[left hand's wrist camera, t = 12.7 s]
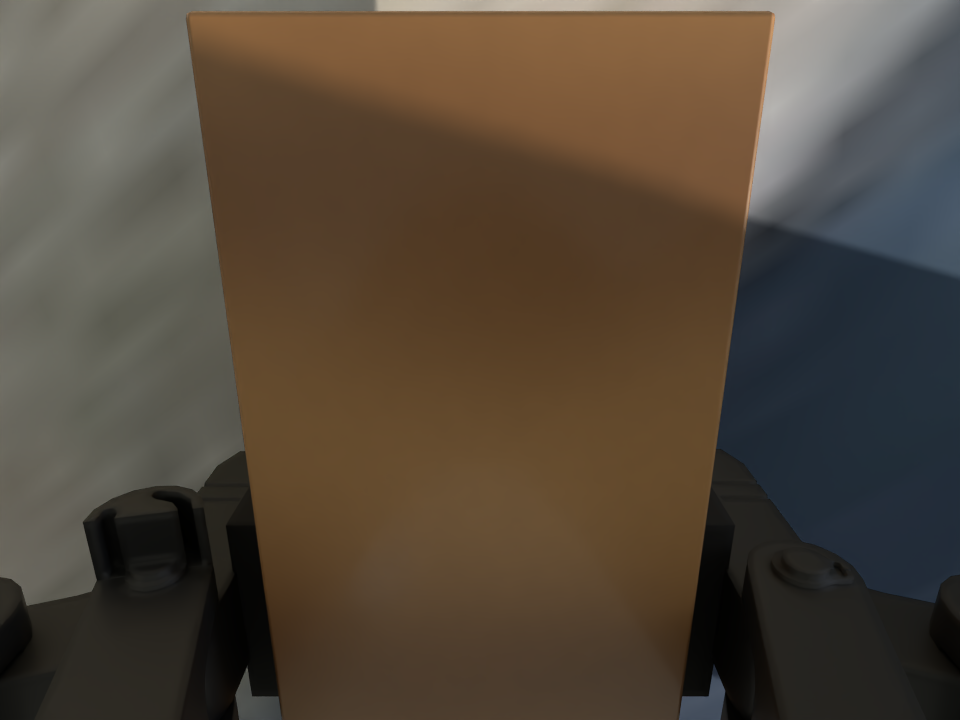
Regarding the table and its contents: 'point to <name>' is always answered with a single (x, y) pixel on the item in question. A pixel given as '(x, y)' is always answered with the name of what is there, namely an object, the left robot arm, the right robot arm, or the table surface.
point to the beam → (480, 342)
